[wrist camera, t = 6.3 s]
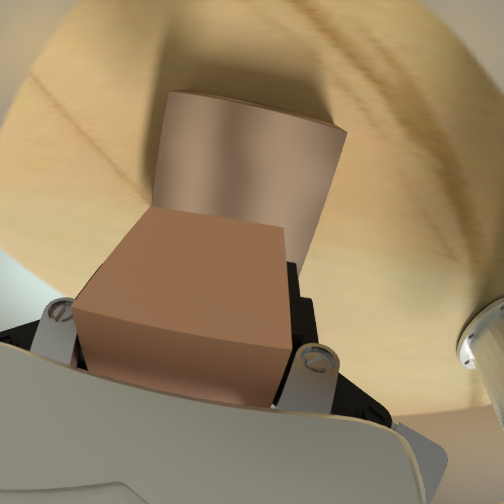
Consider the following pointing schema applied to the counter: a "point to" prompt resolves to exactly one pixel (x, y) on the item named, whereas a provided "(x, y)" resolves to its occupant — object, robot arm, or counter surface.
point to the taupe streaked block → (246, 164)
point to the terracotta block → (191, 308)
